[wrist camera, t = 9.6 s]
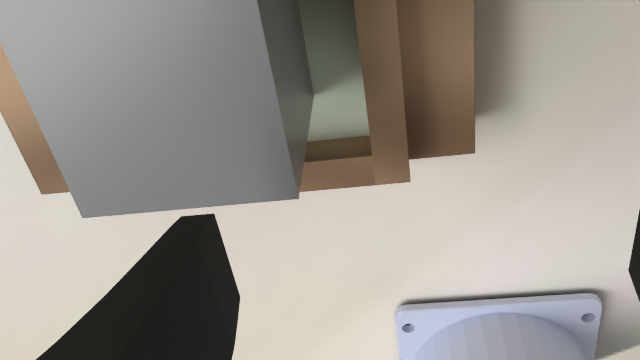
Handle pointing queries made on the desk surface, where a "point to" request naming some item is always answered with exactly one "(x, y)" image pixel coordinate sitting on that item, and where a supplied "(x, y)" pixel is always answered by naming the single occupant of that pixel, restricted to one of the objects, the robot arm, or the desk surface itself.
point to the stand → (346, 92)
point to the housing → (165, 98)
